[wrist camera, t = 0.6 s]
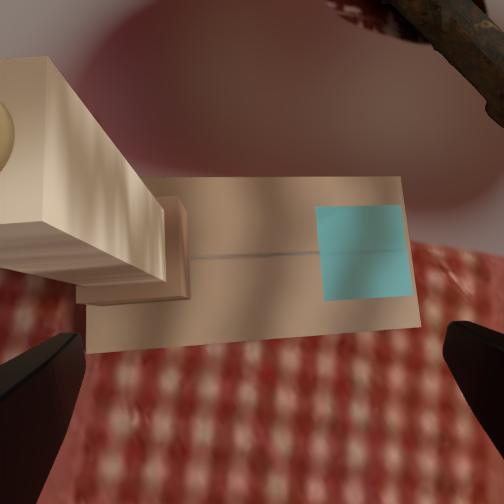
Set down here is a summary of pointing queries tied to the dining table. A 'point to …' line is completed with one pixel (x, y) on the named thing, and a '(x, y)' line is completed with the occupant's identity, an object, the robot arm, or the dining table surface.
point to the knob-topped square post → (80, 199)
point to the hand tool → (463, 43)
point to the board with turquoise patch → (276, 264)
